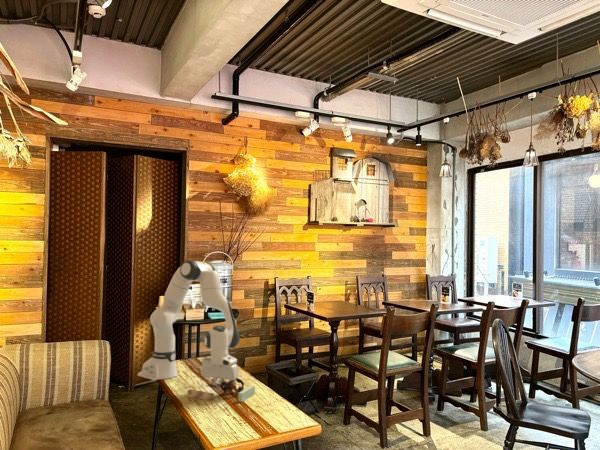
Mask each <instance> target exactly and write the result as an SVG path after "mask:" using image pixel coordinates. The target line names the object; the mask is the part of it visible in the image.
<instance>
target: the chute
mask: <svg viewBox="0 0 600 450" xmlns="http://www.w3.org/2000/svg"><path fill="white" fill-rule="evenodd" d="M218 381H219V382H221V381H220V378H218ZM228 381H229V380H226V379H224V381H223V382H226V383H227V382H228ZM210 382H211V385H212V386H216V383H215V381H214V377H211V379H210ZM232 383H233V384H234V385H235V386H236V387H237V381H236V380H235V381H234V382H232ZM224 387H225V386H223V388H224ZM187 397H188V398H194V399H199V400H205V401H209V402H210V401H211V402H212V401H214V400H215V393H214V392H210V391H209V392H208V391H202V390H197V389H187Z"/></svg>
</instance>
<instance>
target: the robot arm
mask: <svg viewBox="0 0 600 450" xmlns="http://www.w3.org/2000/svg"><path fill="white" fill-rule="evenodd" d="M193 282H199V284H200V294H201V300H202V302H203V303H204V304H205V305H206V306H207V307H209V308H212V309H215V310H218V311H220V312H222V314H223V315H224V319H225V324H226V326H224V325H215V326H212V328H211V330H208V331H206V332H205V334H204V335H203V345H204V346H205V348H207V349H208V350H210V357H207V356H205V357H204V358H202V360H201V368H200V374H201V376H202V377H209V378H214V381H215V383H216V385H215V387H217V388H220V384H221V383H222V382H223V381H224V380H235V381H236V379H237V378H238V379H239V368H238V367H239V366H238V365H237V363H238V359H237V358H236V357H234V356H232V355H230V354H229V349H234V348H236V347H237V346H238V345H239V343H240V338H241V337H240V333H239V330H238V328H237V324H236V321H235V317H234V314H233V313H234V312H233V309H232V305H231V303H230V301H229V299H228V298H226V297H225V296H224V293H223V289H222V282H221V278H220V274H219V272H218V271H216V268H215V267H214V265H212V264H211V263H208V262H204V261H200V260H192V259H189V260H188V259H187V260H185V261H183V262H182V264H181V265H180V266H179V267H178V268H177V270H176V271H175V272H174V274H173V275H172V278H171V279H170V282H169V284H168V287H167V288H166V291H165V292H164V299H163V302H162V305H161V306H160V307H158V308H156V309H155V310H154V311H153V312H152V313H151V315H150V317H149V322H150V324H151V326H152V329H153V335H154V350H153V351H151V352H150V355H151V357H150V358H149V359H148V360H146V361H145V362H144V363H143V364H142V367H141V371H139V372H138V373H137V376H138V377H141V378H145V379H149V380H152V381H157V380H167V379H172V378H176V377H177V376H178V371H177V365H176V358H177V357H176V356H177V351H176V335H175V334H174V328H173V324H174V323H176V322H177V320H178V318H179V317H180V313H181V310H182V305H183V303H184V300H185V298H186V296H187V294H188V292H189V289H190V287H191V285H192V283H193ZM218 379H220V381H221V382H219V381H218Z"/></svg>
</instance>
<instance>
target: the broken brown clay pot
mask: <svg viewBox="0 0 600 450" xmlns="http://www.w3.org/2000/svg"><path fill="white" fill-rule="evenodd" d="M234 381H236V383H239V384H241V386H238V387H237V385H236V386H235V385H234V384H233V383H232V382H234ZM223 386H225V387H223ZM244 386H245V383H244V381H243V380H242V379H240V378H239V377H238V378H237V379H236V380H229V381H228V382H227V383H226V382H222V383H221V384H220V387H219V388H220V389H221V391H223V392H224V393H227V391H228V390H230V391H234V393H233V396H239V392H241V391H243V390H245V389H244Z"/></svg>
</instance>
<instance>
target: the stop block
mask: <svg viewBox="0 0 600 450" xmlns="http://www.w3.org/2000/svg"><path fill="white" fill-rule="evenodd" d="M255 388H256V385H250V386H248V387H246V388H245V389H243V391H241V392H239V393H238V402H239V403H244V401H247V400H248V399H250V398H251V397H253V396H254V395H256V394H255V391H256V389H255Z"/></svg>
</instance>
